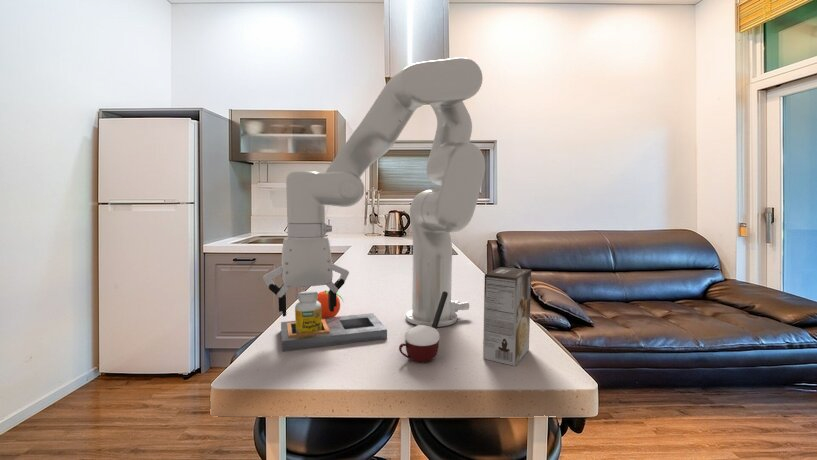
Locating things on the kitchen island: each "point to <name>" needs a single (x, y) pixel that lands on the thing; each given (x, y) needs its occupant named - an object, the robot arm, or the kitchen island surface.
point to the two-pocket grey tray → (334, 332)
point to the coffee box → (506, 315)
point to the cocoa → (424, 338)
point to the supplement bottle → (308, 312)
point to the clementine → (325, 306)
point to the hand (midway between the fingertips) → (308, 312)
